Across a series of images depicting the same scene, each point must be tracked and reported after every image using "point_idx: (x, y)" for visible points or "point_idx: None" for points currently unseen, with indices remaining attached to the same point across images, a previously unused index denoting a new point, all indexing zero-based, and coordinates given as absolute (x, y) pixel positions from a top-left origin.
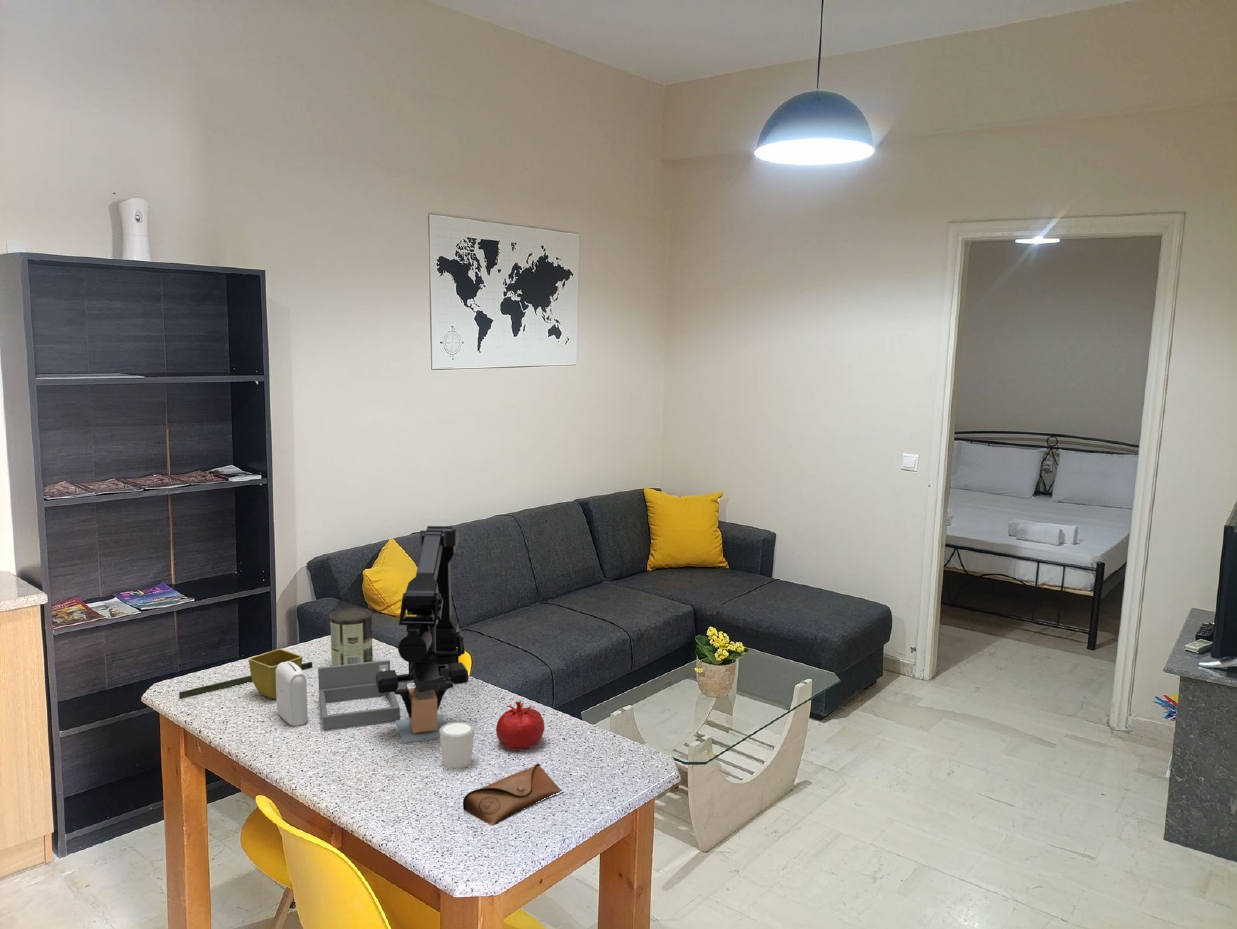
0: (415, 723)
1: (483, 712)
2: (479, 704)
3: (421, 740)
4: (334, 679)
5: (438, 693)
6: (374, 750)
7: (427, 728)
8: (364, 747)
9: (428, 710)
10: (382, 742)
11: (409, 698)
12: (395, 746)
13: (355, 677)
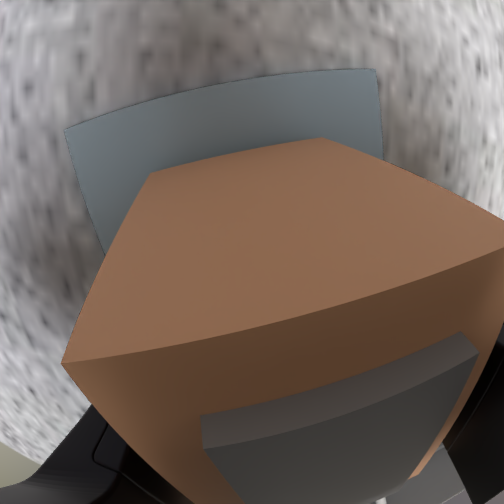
0: (337, 150)
1: (11, 378)
2: (52, 426)
3: (260, 77)
4: None
5: (108, 476)
6: (473, 52)
7: (225, 157)
8: (499, 98)
9: (233, 213)
10: (450, 121)
11: (498, 343)
12: (402, 53)
13: (443, 468)
